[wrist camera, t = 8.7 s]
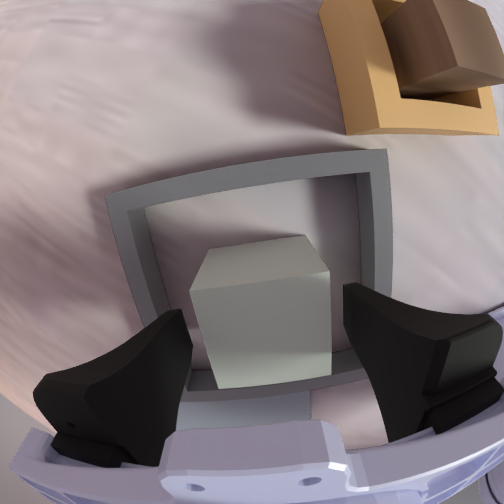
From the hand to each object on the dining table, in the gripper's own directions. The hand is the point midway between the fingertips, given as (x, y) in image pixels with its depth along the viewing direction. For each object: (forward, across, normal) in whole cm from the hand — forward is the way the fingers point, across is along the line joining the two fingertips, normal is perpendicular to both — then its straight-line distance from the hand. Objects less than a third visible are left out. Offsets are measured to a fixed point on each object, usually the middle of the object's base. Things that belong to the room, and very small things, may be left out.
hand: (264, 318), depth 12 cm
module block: (+3, 0, 0) cm, 4 cm away
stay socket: (+3, -9, -11) cm, 15 cm away
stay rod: (+3, -9, -11) cm, 15 cm away
